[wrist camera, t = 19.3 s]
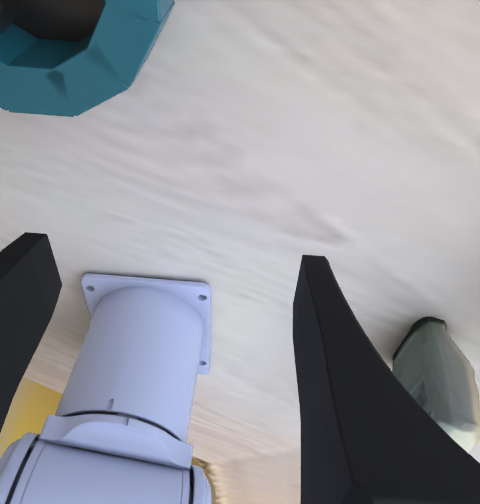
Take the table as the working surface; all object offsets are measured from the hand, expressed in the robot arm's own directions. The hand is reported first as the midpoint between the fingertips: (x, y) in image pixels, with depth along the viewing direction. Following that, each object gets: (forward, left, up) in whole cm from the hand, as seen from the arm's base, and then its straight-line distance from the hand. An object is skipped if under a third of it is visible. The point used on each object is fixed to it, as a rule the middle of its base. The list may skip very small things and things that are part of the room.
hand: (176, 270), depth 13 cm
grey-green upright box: (-15, -14, -11) cm, 23 cm away
